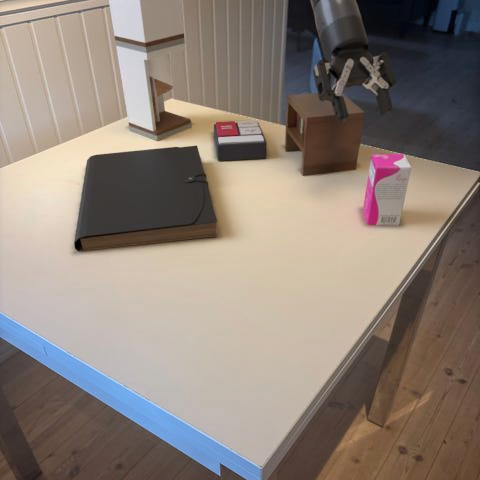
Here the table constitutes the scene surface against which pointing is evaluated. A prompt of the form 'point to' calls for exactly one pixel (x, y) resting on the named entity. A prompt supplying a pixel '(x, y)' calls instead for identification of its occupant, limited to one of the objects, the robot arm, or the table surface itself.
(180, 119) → the white tower
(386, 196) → the supplement box
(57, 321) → the table surface
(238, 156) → the dark grey flat box
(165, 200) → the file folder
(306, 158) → the shelf
